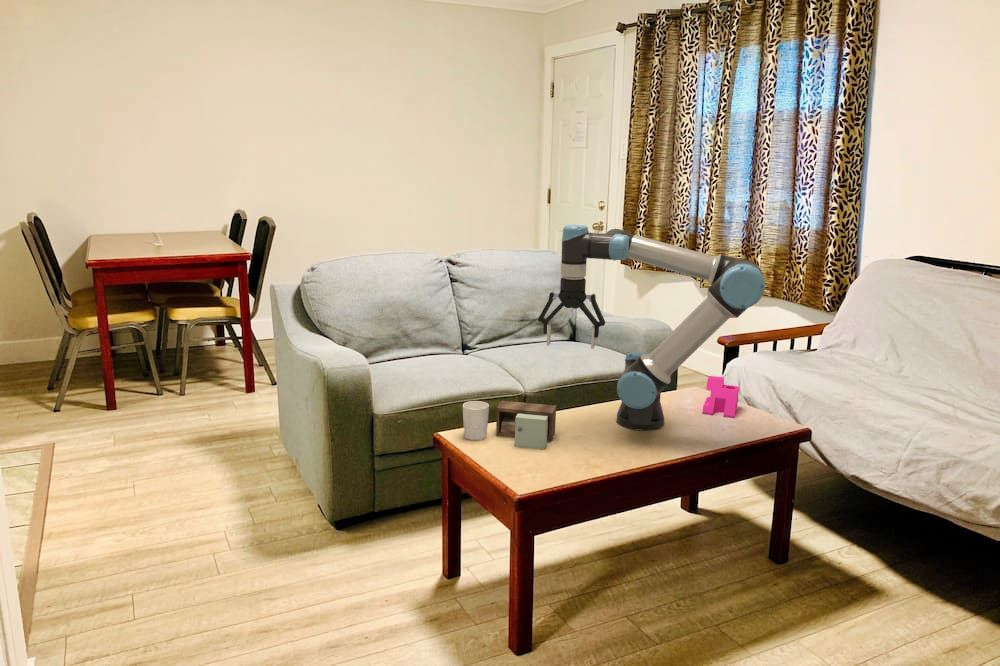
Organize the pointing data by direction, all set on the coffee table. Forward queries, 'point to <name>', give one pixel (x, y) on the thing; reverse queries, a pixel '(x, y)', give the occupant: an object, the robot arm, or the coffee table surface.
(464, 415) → the white cup
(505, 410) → the walnut cabinet
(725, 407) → the pink notched block
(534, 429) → the sage door
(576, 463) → the coffee table surface
